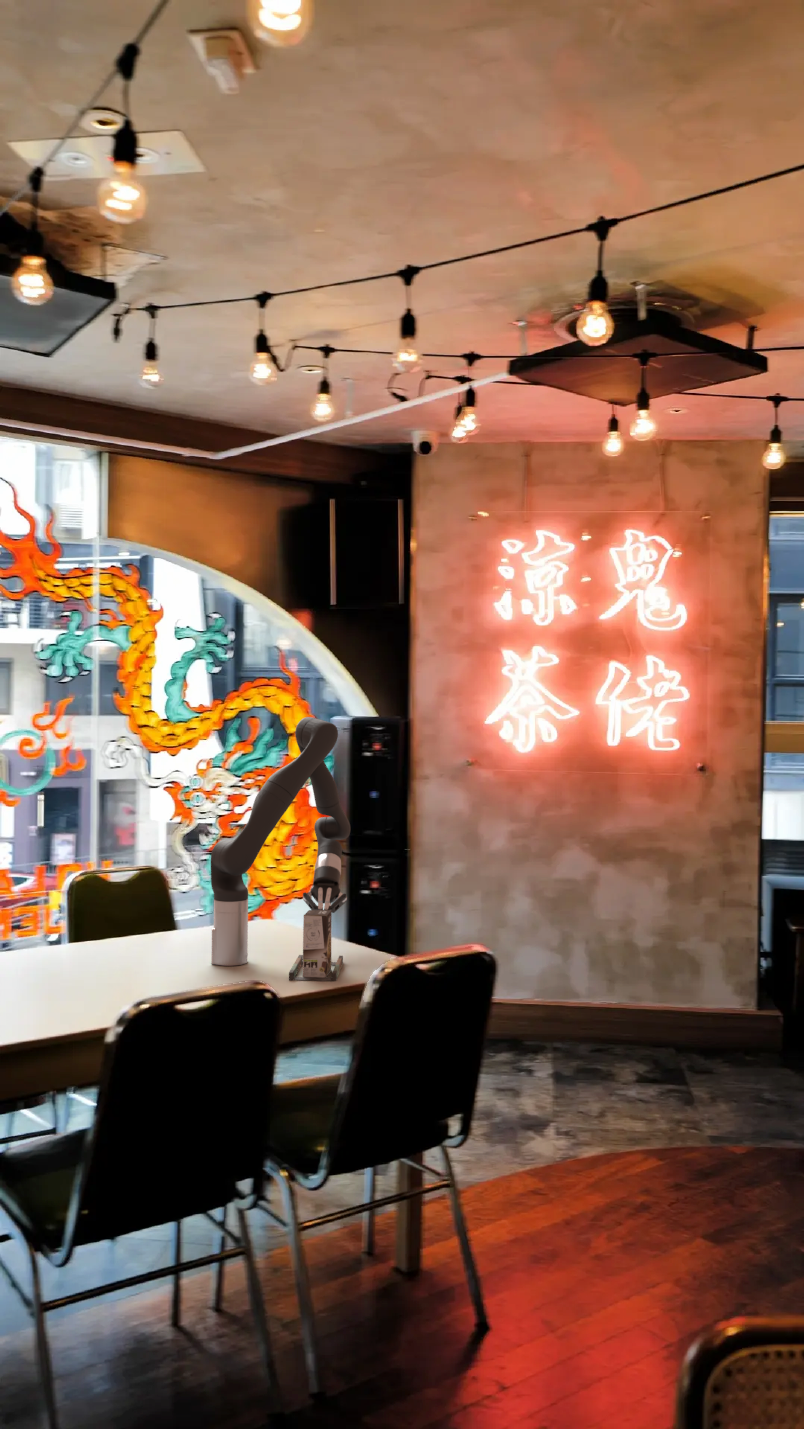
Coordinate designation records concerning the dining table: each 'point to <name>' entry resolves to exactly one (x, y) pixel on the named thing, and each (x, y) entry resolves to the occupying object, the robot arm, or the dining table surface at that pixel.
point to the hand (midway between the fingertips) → (322, 923)
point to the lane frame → (334, 976)
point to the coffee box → (317, 943)
